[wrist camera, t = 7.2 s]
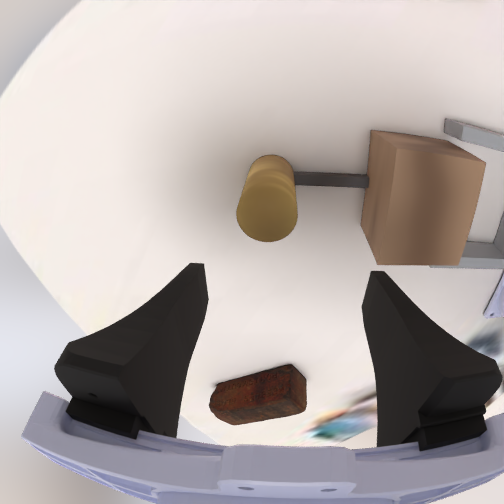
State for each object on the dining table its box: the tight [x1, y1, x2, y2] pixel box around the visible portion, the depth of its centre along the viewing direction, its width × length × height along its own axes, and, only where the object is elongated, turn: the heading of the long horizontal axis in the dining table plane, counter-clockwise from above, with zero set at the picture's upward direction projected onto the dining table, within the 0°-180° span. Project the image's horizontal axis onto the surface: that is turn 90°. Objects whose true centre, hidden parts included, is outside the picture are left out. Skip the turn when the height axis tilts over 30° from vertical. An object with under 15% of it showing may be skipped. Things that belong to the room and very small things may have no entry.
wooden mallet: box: [236, 130, 486, 266], centre depth 17 cm, size 14×7×6 cm, turn 92°
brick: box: [209, 365, 307, 425], centre depth 31 cm, size 11×4×5 cm, turn 124°
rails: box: [429, 119, 504, 269], centre depth 17 cm, size 9×10×2 cm
